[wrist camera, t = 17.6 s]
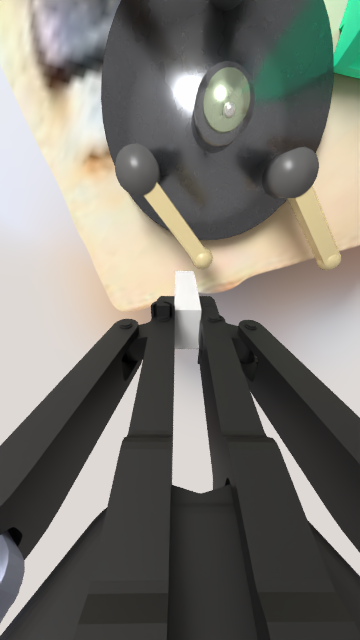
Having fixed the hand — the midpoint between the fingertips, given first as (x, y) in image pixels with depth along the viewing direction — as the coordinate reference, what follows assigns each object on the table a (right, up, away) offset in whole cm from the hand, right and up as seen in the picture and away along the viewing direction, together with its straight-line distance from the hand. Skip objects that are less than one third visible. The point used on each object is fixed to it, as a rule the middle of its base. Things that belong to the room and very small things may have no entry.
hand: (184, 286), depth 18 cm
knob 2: (+17, +13, +14) cm, 26 cm away
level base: (+4, +23, +10) cm, 26 cm away
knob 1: (-2, +13, +14) cm, 19 cm away
